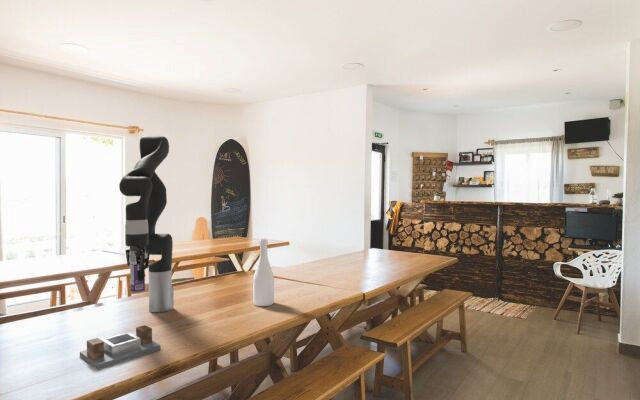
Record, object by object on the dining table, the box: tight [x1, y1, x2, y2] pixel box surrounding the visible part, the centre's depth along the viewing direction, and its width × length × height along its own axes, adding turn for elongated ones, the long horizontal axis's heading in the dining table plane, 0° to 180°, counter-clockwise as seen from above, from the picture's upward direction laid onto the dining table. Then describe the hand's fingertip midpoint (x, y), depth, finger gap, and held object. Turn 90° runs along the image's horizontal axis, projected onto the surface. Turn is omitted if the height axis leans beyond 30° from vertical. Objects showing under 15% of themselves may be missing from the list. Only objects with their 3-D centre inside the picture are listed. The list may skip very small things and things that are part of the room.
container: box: [129, 250, 146, 294], centre depth 140 cm, size 5×5×15 cm
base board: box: [79, 340, 161, 371], centre depth 124 cm, size 19×14×2 cm
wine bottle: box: [252, 238, 275, 307], centre depth 178 cm, size 10×10×30 cm
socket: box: [100, 331, 141, 356], centre depth 124 cm, size 9×9×3 cm
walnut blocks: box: [86, 324, 153, 360], centre depth 124 cm, size 18×5×4 cm, turn 140°
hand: (137, 279), depth 140 cm, fingers closed on container, 4 cm apart
